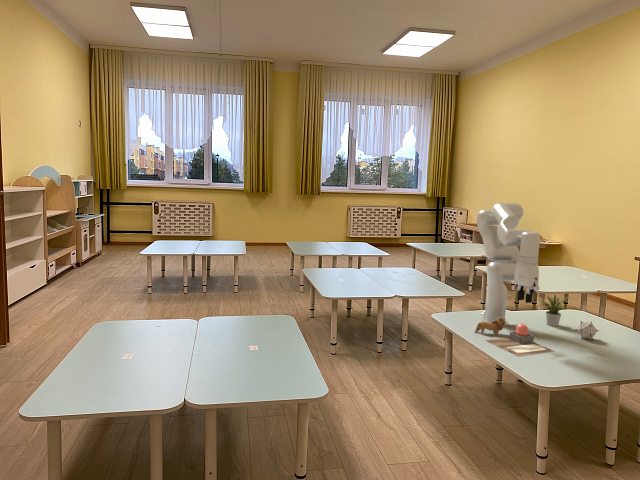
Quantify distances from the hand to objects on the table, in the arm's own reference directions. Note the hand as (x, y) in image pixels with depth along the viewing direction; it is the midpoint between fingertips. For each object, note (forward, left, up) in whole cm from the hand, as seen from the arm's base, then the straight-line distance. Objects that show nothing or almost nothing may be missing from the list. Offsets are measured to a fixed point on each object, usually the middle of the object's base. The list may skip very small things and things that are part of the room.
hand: (524, 300), depth 208 cm
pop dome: (0, 0, -16) cm, 16 cm away
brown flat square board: (+5, -6, -19) cm, 21 cm away
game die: (+4, +35, -19) cm, 40 cm away
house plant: (-17, +38, -19) cm, 46 cm away
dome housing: (0, 0, -18) cm, 18 cm away
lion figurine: (-12, -7, -20) cm, 24 cm away
